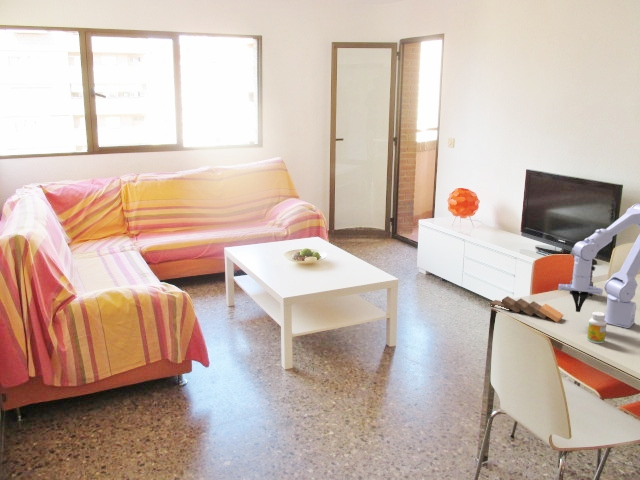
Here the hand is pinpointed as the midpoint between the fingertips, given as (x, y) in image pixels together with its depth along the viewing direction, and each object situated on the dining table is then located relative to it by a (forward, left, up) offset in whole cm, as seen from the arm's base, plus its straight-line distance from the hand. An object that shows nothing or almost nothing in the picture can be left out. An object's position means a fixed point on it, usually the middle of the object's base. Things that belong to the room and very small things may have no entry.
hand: (577, 311), depth 218 cm
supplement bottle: (-10, +11, -5) cm, 16 cm away
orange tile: (+6, 0, -4) cm, 7 cm away
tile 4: (+21, +1, -4) cm, 21 cm away
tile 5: (+25, 0, -4) cm, 25 cm away
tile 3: (+15, 0, -4) cm, 16 cm away
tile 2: (+10, 0, -4) cm, 11 cm away
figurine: (+10, -36, -5) cm, 37 cm away
